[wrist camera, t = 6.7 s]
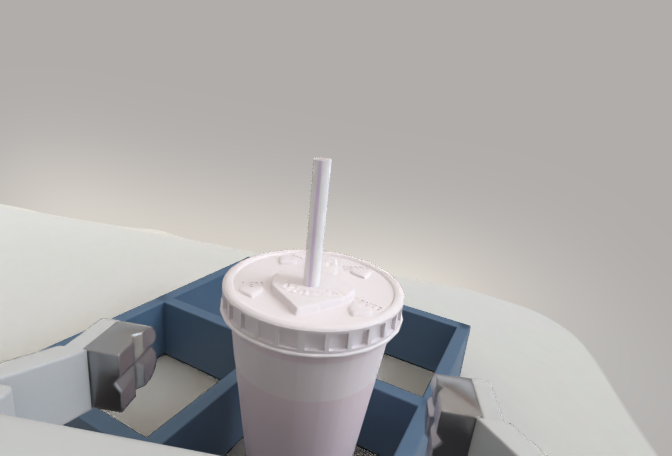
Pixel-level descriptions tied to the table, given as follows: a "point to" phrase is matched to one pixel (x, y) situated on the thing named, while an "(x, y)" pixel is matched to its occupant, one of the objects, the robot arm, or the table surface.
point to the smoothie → (308, 340)
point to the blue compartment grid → (223, 398)
